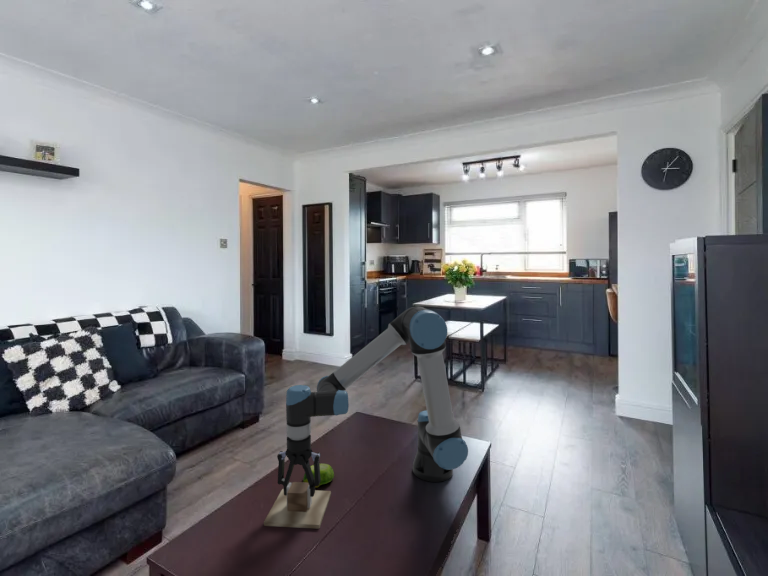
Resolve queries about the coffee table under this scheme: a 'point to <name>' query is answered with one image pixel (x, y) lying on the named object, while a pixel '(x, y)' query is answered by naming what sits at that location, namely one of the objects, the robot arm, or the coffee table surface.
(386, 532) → the coffee table surface
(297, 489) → the walnut cube
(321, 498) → the oak board
